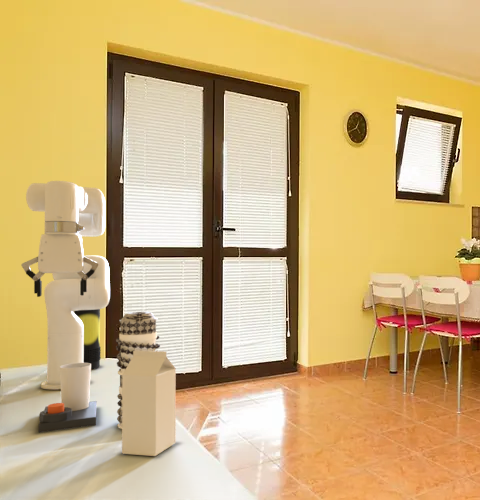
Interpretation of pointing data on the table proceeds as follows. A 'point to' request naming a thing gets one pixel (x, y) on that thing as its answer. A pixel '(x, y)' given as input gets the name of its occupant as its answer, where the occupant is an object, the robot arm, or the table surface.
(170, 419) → the milk carton
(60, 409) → the tare button
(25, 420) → the table surface
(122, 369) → the decorative candle
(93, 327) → the container
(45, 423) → the scale
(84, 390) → the white cup
